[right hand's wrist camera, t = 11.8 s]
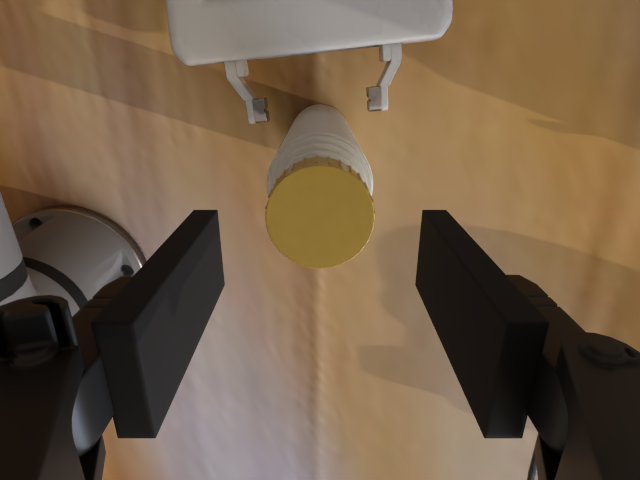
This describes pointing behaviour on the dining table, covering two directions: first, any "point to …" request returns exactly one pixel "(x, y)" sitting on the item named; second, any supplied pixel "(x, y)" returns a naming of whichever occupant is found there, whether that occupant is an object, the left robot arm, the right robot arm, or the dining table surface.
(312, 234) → the cap
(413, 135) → the dining table surface
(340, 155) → the bottle
